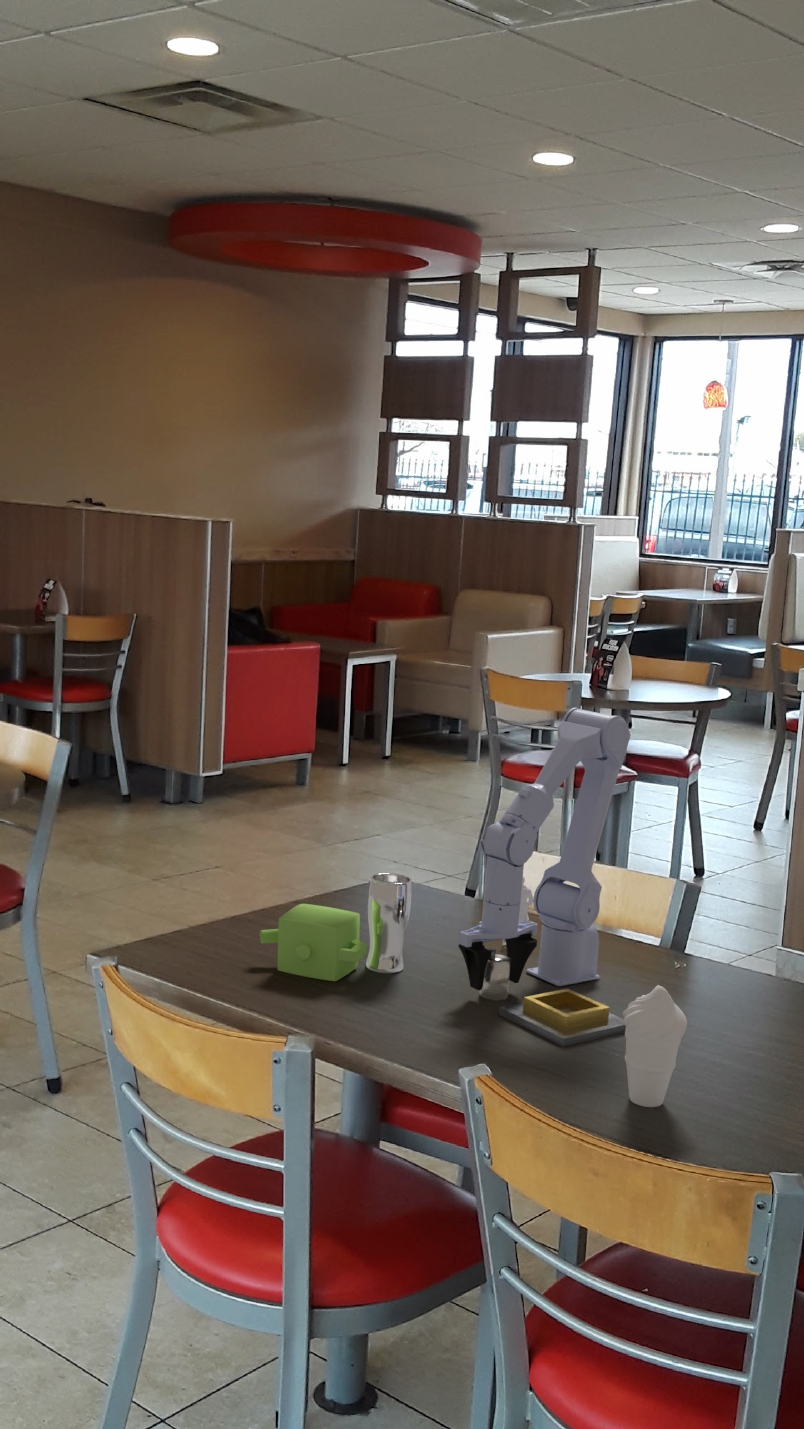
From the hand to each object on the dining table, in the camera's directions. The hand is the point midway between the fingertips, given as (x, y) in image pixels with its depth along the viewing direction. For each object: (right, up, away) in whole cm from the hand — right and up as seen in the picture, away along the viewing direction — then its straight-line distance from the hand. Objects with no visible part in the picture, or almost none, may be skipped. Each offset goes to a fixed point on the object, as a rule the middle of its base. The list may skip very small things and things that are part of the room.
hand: (494, 984), depth 222 cm
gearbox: (-29, +1, +5) cm, 30 cm away
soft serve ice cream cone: (+18, -9, -36) cm, 41 cm away
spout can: (0, -2, 0) cm, 2 cm away
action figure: (+5, +2, +28) cm, 28 cm away
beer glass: (-17, +1, +10) cm, 20 cm away
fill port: (+10, -4, -10) cm, 14 cm away
